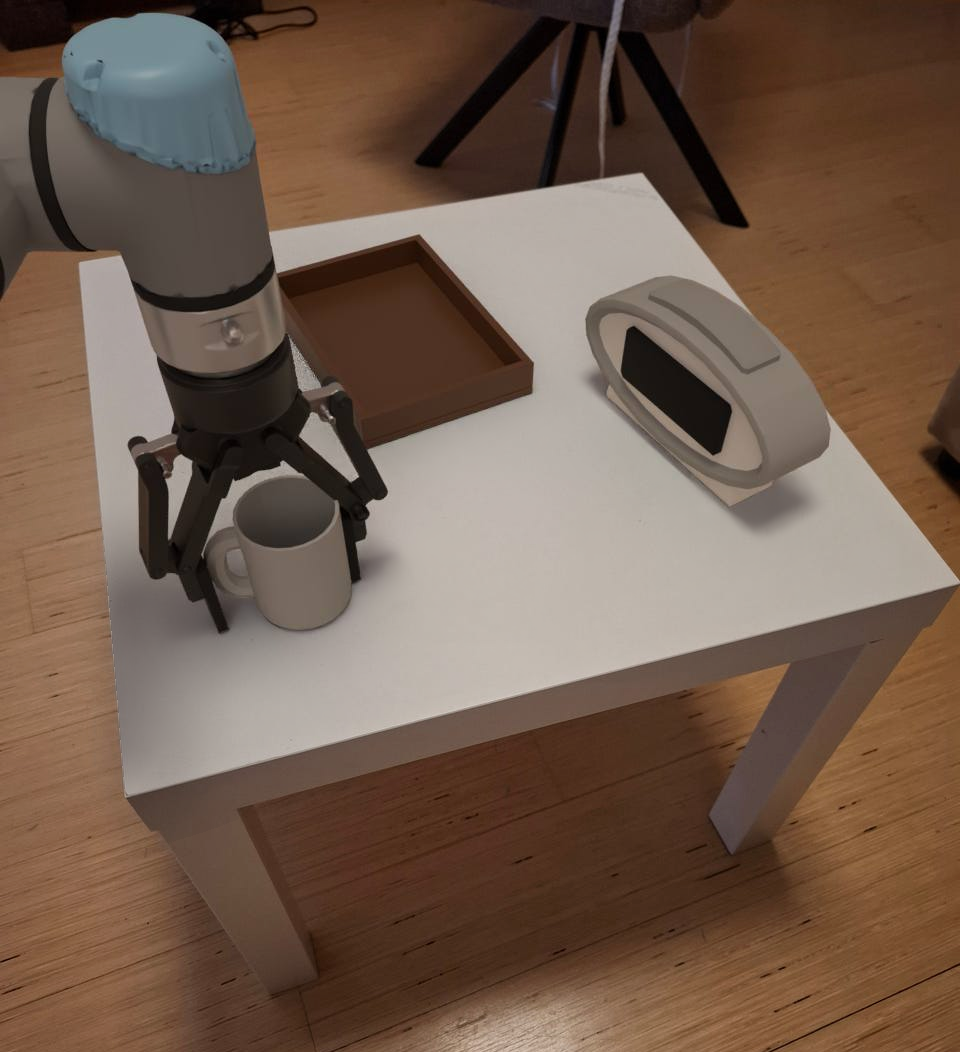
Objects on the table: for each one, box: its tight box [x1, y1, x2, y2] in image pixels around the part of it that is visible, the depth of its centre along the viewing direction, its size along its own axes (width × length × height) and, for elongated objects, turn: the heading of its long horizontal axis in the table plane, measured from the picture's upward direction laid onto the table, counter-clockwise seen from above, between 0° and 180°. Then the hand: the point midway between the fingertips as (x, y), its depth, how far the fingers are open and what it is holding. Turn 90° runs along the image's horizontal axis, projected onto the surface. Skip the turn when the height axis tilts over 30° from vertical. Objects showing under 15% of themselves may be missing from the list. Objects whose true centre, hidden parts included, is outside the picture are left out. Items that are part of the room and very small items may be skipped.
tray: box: [277, 233, 535, 450], centre depth 88 cm, size 24×17×3 cm
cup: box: [202, 474, 352, 631], centre depth 67 cm, size 7×10×9 cm
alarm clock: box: [584, 275, 832, 508], centre depth 77 cm, size 23×6×13 cm, turn 33°
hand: (285, 593), depth 71 cm, fingers closed on cup, 10 cm apart
